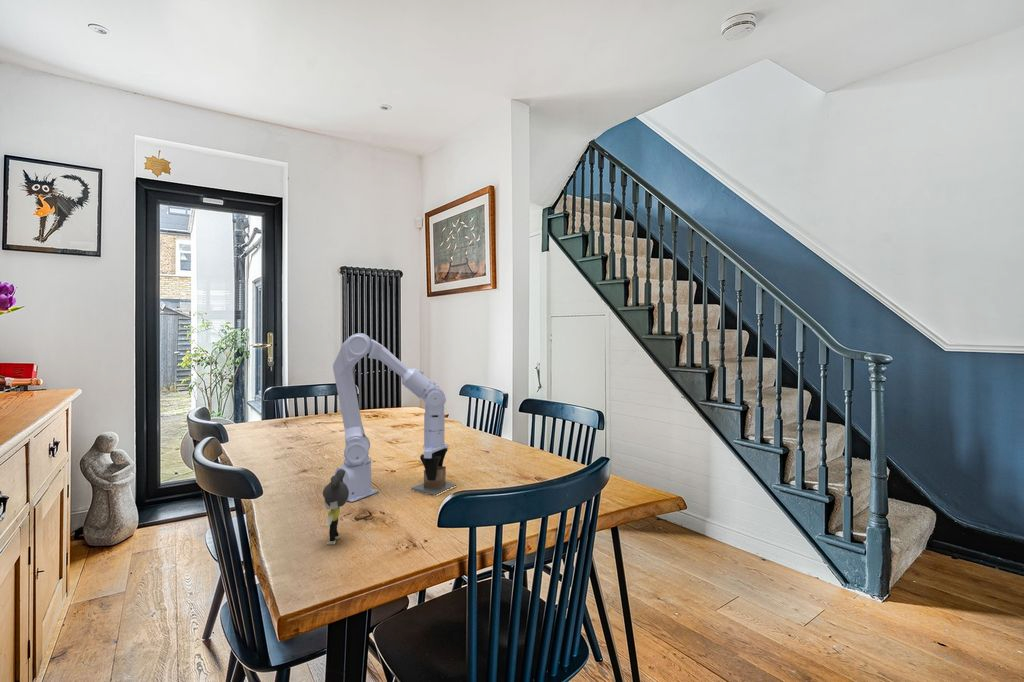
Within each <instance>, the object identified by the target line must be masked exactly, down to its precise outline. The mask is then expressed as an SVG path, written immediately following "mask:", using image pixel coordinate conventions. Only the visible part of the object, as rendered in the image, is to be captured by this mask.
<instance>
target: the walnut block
mask: <svg viewBox="0 0 1024 682" xmlns="http://www.w3.org/2000/svg"><path fill="white" fill-rule="evenodd" d="M446 474H447V468H446V466H445V465H442V466H438V468H437V475H436V480H435V481H430V480H428V479H427V476H426V471H425V469H424V470H423V483H424V488H425V489H442V488H443V486H444V485H445V484H446V482H447V477H446Z"/></svg>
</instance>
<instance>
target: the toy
mask: <svg viewBox="0 0 1024 682" xmlns="http://www.w3.org/2000/svg"><path fill="white" fill-rule="evenodd" d="M344 475H345V471H344V470H341V469H339V470H338V471H337V473H336V474H335V476H334V475H332V476H331V478H330V482H329V483H328V484H326V485H325V487H324V488H323V490H322V496H323V497H324V500H323V502H322V503H323V504H324V507H325V509H326V510H329V512H328V514H327V516H328V517H327V520H326V522H325V524H324V527H325V528H328V527H329V532H328V534H329V541H327V542H326V545H336V544H335V543H336V540H339V538H340V534H339V532H338V524H339V516H340V515H339V513H340V512H341V507H343V506H345V504H346V503H347V502H348V501H347V499H348V495H349V490H348V488H347V486H346V484H345V483H344V482H343V477H344Z"/></svg>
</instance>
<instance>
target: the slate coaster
mask: <svg viewBox="0 0 1024 682" xmlns="http://www.w3.org/2000/svg"><path fill="white" fill-rule="evenodd" d="M456 485H458V484H457V483H453V482H447V481H446V484H445V485H444V486H443V488H442V489H425V488H424V482H421V483H419V484H417V485H415V486H411V491H412V490H414V491H413V492H416V491H419V492H418V493H420V492H423V493H422V494H425V493H428V494H427V495H429V494H433V495H437V494H439V493H441V492H443V491H445V490H447V489H450V488H451V487H454V486H456ZM433 495H432V496H433Z"/></svg>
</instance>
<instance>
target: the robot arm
mask: <svg viewBox="0 0 1024 682" xmlns="http://www.w3.org/2000/svg"><path fill="white" fill-rule="evenodd" d="M367 354H368V357H367V358H368V359H371V360H372V359H374V360H379V361H380V362H381V363H383V364H384V365H386V366H387V367H388V368H389V369H390V370H392V371H393V372H394V373H395V374H397V375H398V376H399V377H400V378H401V384H402V385H403V386H404V388H406V389H408V390H409V391H410V392H411V393H412V394H414V395H415V396H416V397H417V398H418V399H423V402H424V414H423V418H424V419H423V453H422V454H421V455H420V456H419V458H420V461H421V463H422V464H423V467H424V470H425V471H426V476H427V479H428V480H430V481H435V480H436V475H437V468H438V466H444V465H443V464H444V461H445V457H446V454H447V452H448V450H449V449H448V448H449V446H450V444H447V443H445V433H446V431H445V425H446V424H445V404H446V402H447V398H446V395H445V393H444V391H443V389H442V388H440V386H439V385H437V383H436V382H435V381H431V380H430V379H429V378H428V377H427V376H425V375H424V371H423V370H422V369H417V368H416V367H413V368H409V367H408V366H406V365H405V364H404V363H403V362H402V361H401V360H400V359H399V358H397V357H396V355H394V353H392V352H391V351H390V350H388V348H387V347H385V346H384V345H382V344H381V343H379V342H378V341H376V340H375V339H373V338H372V339H371V337H370V336H369V335H367V334H366V333H362V332H357V333H354V334H352V335H350V336H349V337H347V339H346V340H345V341H344V342H343V343H342V344H341V347H340V349H339V352H338V353H337V356H336V358H335V359H334V362H333V364H332V371H333V374H334V375H333V376H334V380H335V385H336V390H337V396H338V402H339V407H340V412H341V418H342V424H343V429H344V441H345V447H344V449H343V456H344V460H343V463H342V465H340V467H337V468H336V469H335V471H334V474H333V476H335V474H336V473H337V471H338V470H339V469H341V470H344V471H345V475H344V477H343V482H344V483H345V484H346V486H347V488H348V490H349V495H348V499H347V501H346V502H349V503H353V502H356V501H359V500H361V499H363V498H367V497H369V496H371V495H374V494H377V493H379V490H378V489H375V488H372V458H371V457H369V454H370V449H371V441H370V439H369V438H368V437H367V435H366V434H365V432H366V431H365V429H364V426H363V423H362V422H363V421H362V417H361V410H360V405H359V400H358V394H357V389H356V385H355V378H354V373H353V368H354V366H356V364H357V363H358V361H359V360H361V359H363V358H364V357H365V356H367Z"/></svg>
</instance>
